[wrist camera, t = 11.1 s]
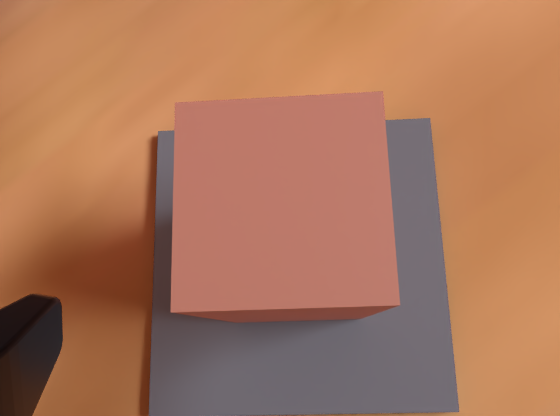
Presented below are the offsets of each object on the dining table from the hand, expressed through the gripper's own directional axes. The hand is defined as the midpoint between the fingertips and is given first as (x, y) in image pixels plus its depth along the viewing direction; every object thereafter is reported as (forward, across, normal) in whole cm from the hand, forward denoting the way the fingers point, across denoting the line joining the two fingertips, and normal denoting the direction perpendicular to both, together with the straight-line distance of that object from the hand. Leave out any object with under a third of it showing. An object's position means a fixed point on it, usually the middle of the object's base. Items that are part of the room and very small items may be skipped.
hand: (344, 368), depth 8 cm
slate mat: (+12, 0, +6) cm, 14 cm away
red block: (+12, 0, +6) cm, 14 cm away
